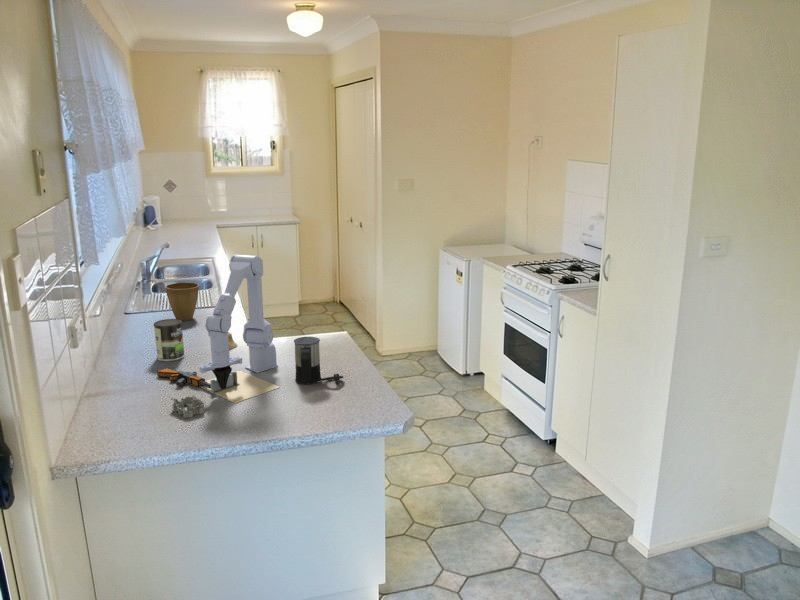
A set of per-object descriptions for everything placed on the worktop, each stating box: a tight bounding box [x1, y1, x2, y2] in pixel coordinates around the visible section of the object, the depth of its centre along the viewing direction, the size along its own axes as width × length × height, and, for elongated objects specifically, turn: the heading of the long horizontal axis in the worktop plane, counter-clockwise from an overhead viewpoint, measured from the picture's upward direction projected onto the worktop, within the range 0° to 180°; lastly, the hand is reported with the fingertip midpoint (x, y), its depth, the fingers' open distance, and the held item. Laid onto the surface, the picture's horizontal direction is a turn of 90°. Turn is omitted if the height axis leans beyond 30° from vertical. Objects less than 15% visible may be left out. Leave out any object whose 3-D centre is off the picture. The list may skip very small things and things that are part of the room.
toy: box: [156, 367, 211, 388], centre depth 230 cm, size 2×26×10 cm
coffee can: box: [153, 318, 185, 362], centre depth 255 cm, size 10×10×14 cm
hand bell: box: [228, 331, 238, 350], centre depth 267 cm, size 8×8×16 cm
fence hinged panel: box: [210, 371, 237, 393], centre depth 224 cm, size 10×1×4 cm, turn 137°
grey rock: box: [170, 395, 205, 418], centre depth 207 cm, size 11×8×4 cm
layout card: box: [200, 370, 280, 404], centre depth 227 cm, size 18×24×1 cm
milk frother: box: [293, 336, 344, 385], centre depth 230 cm, size 14×16×15 cm
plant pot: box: [165, 281, 200, 322], centre depth 307 cm, size 15×15×16 cm
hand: (223, 387), depth 221 cm, fingers closed
